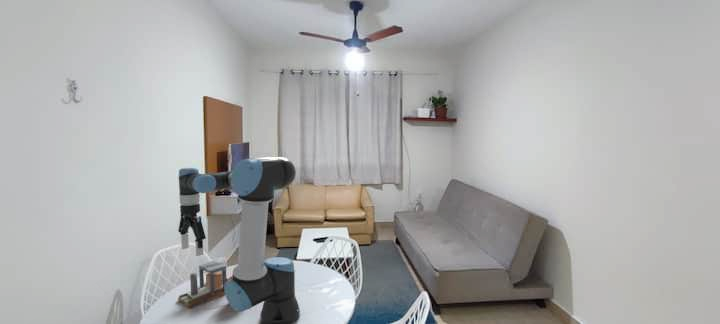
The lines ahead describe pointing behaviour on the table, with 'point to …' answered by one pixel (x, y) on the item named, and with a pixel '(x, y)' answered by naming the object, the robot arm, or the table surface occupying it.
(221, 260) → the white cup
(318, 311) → the table surface
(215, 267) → the grey legged frame
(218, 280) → the u-shaped holder
